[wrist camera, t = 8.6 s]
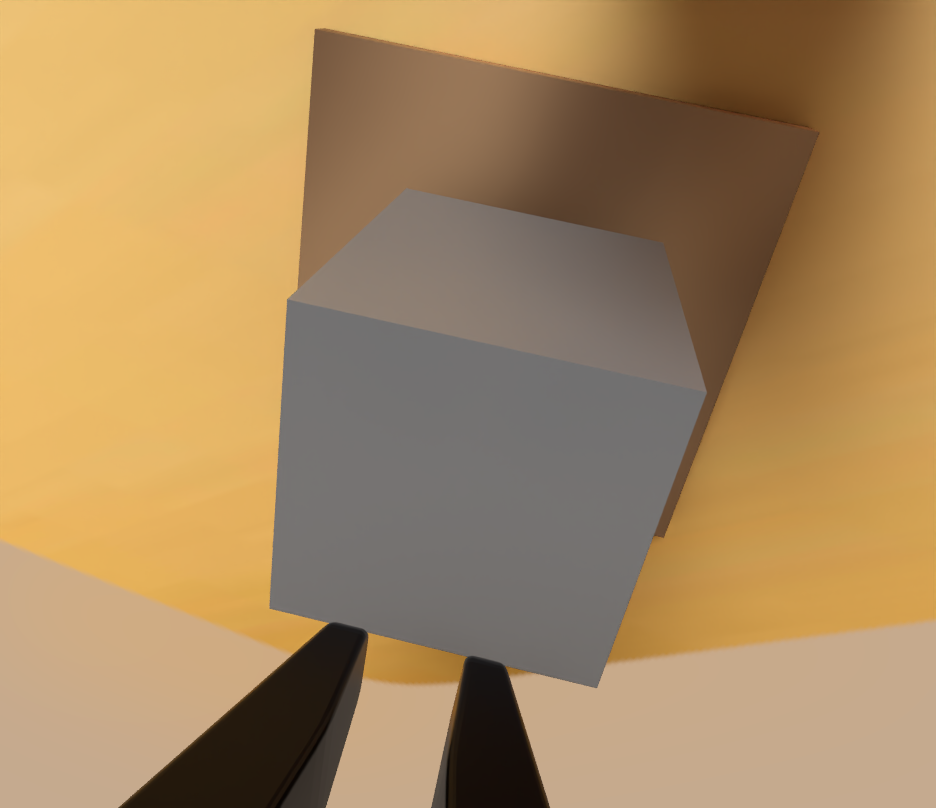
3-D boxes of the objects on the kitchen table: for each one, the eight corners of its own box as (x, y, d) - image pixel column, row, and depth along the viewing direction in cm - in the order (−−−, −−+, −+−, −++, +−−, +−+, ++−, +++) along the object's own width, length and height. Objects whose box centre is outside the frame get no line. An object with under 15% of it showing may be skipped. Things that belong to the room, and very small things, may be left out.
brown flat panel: (811, 128, 15) (987, 222, 8) (661, 523, 20) (695, 785, 13) (324, 28, 15) (116, 40, 9) (295, 438, 20) (146, 649, 13)
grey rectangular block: (663, 242, 15) (707, 392, 9) (596, 460, 17) (596, 687, 11) (406, 187, 15) (287, 299, 9) (377, 411, 17) (269, 609, 12)
